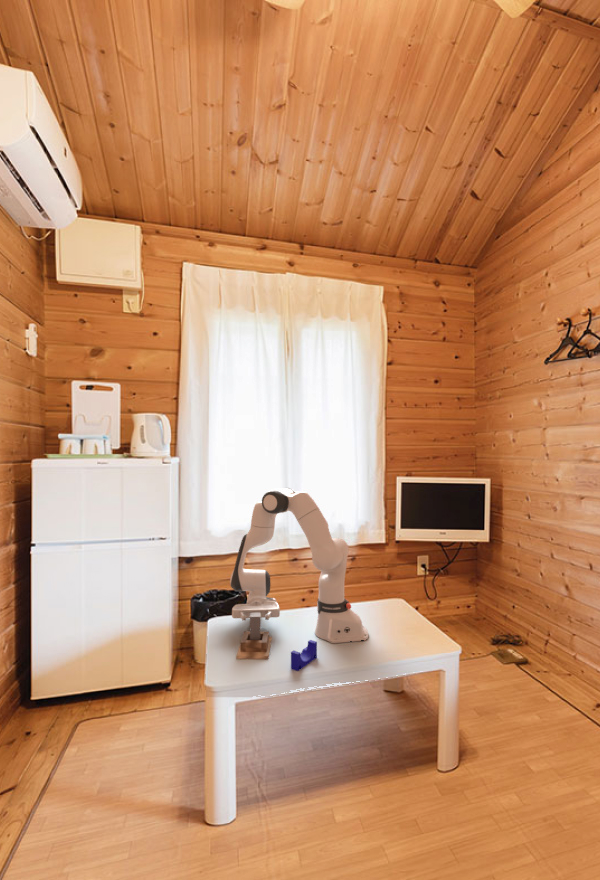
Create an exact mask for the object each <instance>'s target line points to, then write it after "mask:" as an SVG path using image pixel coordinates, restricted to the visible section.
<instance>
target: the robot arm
mask: <svg viewBox="0 0 600 880" xmlns="http://www.w3.org/2000/svg"><path fill="white" fill-rule="evenodd" d="M286 512H291V513H292V515H293V516H294V518H295V519H296V521H297V523H298V525H299V526H300V528H301V530H302V532H303V534H304V536H305V537H306V539H307V542H308V546H309V548H310V551H311V555H312V556H311V561H312V564H313V566H314V568H316V569H317V570H319V571H320V575H319V578H318V598H317V601H316V603H317V604H316V608H317V609H316V610H317V621H316V626H315V631H314V635H315V636H316V637H318V638H319V639H321V640H324V641H327V642H329V643H330V644H331V643H332V644H339V643H349V642H350V641H352V642H362V641H361V640H364V641H367V640H368V638H369V631H368V629H367V628H366V627H365V626H364V625H363V622H362V619H361V617H360V616H359V615H358V614H357V613H356V612H355V611H353V610H352V609H351V608H352V604H351V603H350V601H349V600H348V599H347V598H345V582H346V581H345V579H346V572H347V563H348V555H349V551H350V549H349V545H348V543H347V542H346V541H345V540H344V539H342V538H339V537H338V538H337V537H336V538H335V537H334V538H332V534H331V532H330V529H329V523H328V521H327V520H326V518H325V516H324V514H323V513H322V511H321V510H320V507H319V506H318V505H317V503H316V502H315V500H314V499H313V498H312V496H311V495H310V494H309V493H308V492H306V491H304V490H300V491H295V489H292V488H290V487H284V488H281V487H280V488H274V489H270V490H269V491H267V492H266V493H264V494H263V496H262V498H261V501H257V502H256V503H255V504H254V507H253V510H252V516H251V520H250V527H249V531H248V532H247V533H246V534H243V536H242V539H241V542H240V545H239V548H238V553H237V556H236V560H235V565H234V568H233V570H232V572H231V575H230V579H229V584H230V587H231V589H233V591H234V592H248V595H247V599H246V603H238V604H237V603H236V604H235V605H234V606H233V607H232V609H231V617H232V618H233V619H241V620H242V621H246V620H247V619H250V613H261V617H260V619H264V618H265V620H266V621H268V620H270V618H271V619H272V618H278V617H280V614H281V612H280V611H281V608H280V605H279V603H278V601H277V599H276V598H275V597H268V595H269V594H270V593H271V575H270V573H269V572H268V570H267V569H251V568H250V569H249V568H245V567H244V565H245V561H246V557H247V554H248V552H249V551H250V550H252V549H253V548H257V547H261V546H263V545H265V544H267V543H268V542H270V541H271V540H272V539H273V537H274V534H275V526H276V517H277V516H278V515H277V514H281V513H282V514H283V513H286ZM366 639H367V640H366ZM350 643H351V642H350Z"/></svg>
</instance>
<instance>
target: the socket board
mask: <svg viewBox="0 0 600 880" xmlns="http://www.w3.org/2000/svg"><path fill="white" fill-rule="evenodd" d="M272 640H273V637H272V636H270V632H269V631H264V630H263V631H262V630H260V640H250V630H249V631H247V630H246V631H243V633H242V636H241V640H240V642H239V646H238V650H237V653H236V656H235V657H236V660H237V659H240V660H241V659H244V660H245V659H250V660H251V659H252V660H255V659H257V660H258V659H260V660H262V659H263V660H264V659H265V660H266V659H267V660H269V658H270V654H271V653H270V651H271V647H272V646H271V645H272Z"/></svg>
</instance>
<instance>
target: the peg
mask: <svg viewBox="0 0 600 880" xmlns="http://www.w3.org/2000/svg"><path fill="white" fill-rule="evenodd" d="M260 617H261V613H250V618H249V631H250V640H260V631H261V618H260Z"/></svg>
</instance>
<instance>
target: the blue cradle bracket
mask: <svg viewBox="0 0 600 880" xmlns="http://www.w3.org/2000/svg"><path fill="white" fill-rule="evenodd" d="M317 658H318V642H317V641H315V640H312V639H308V641H307V646H306V647H304V648H303V649H302V650H301V652H299V651H296V650H294V649H293V650H292V651H290V669H291V670H293V671H296V672H299V671H301V669H303V668H305V667H306V666H307V665H309V664H310V663H312V662H313V661H314V660H316V659H317Z"/></svg>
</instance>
